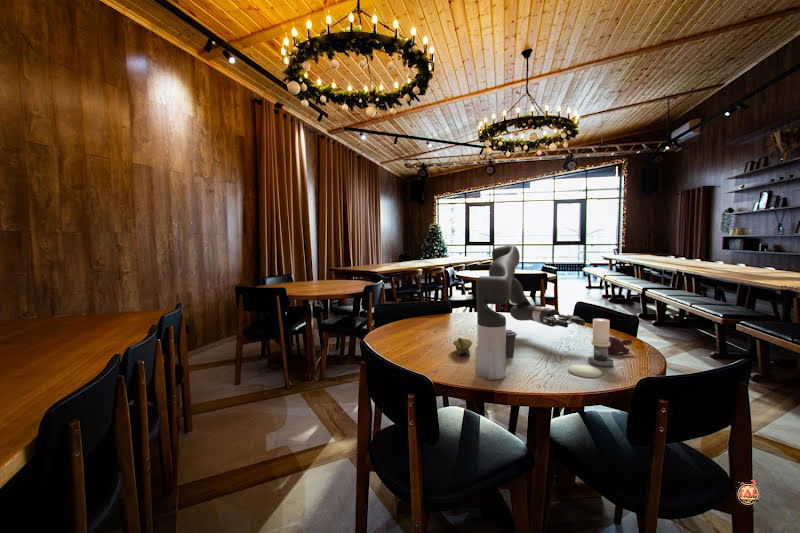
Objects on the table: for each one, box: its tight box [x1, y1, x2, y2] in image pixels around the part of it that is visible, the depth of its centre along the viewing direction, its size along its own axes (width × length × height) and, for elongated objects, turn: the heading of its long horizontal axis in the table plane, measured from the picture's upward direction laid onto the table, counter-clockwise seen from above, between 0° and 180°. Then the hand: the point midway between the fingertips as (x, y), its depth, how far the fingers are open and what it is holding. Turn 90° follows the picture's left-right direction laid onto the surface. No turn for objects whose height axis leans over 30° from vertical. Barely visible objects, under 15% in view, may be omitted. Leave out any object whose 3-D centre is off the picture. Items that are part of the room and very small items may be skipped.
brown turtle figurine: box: [608, 336, 633, 355], centre depth 136 cm, size 7×7×15 cm
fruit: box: [452, 337, 473, 356], centre depth 138 cm, size 11×12×7 cm
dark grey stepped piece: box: [587, 345, 614, 368], centre depth 125 cm, size 8×8×7 cm
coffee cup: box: [506, 329, 518, 359], centre depth 135 cm, size 8×8×10 cm
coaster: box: [567, 364, 602, 379], centre depth 117 cm, size 10×10×1 cm
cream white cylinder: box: [591, 318, 611, 347], centre depth 124 cm, size 6×6×9 cm
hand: (575, 323), depth 135 cm, fingers open, 8 cm apart
